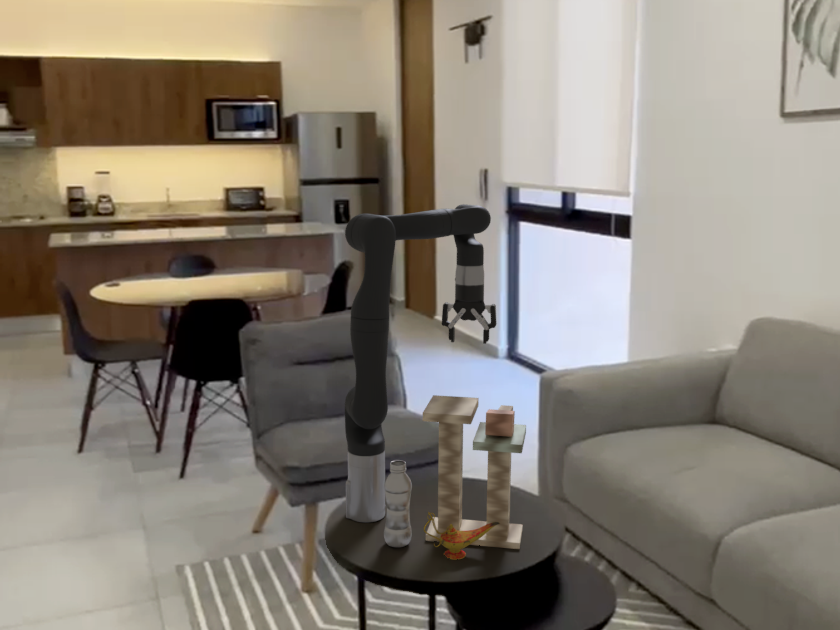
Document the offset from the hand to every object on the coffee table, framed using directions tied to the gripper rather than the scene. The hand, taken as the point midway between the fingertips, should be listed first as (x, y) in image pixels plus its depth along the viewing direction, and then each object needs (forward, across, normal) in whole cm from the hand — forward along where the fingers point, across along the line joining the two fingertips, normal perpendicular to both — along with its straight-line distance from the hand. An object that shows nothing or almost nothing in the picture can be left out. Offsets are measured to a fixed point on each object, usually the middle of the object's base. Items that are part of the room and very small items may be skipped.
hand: (468, 342), depth 225 cm
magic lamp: (+40, -4, +40) cm, 57 cm away
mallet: (+15, -12, +24) cm, 31 cm away
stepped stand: (+40, -6, +30) cm, 50 cm away
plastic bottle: (+40, +11, +38) cm, 56 cm away
